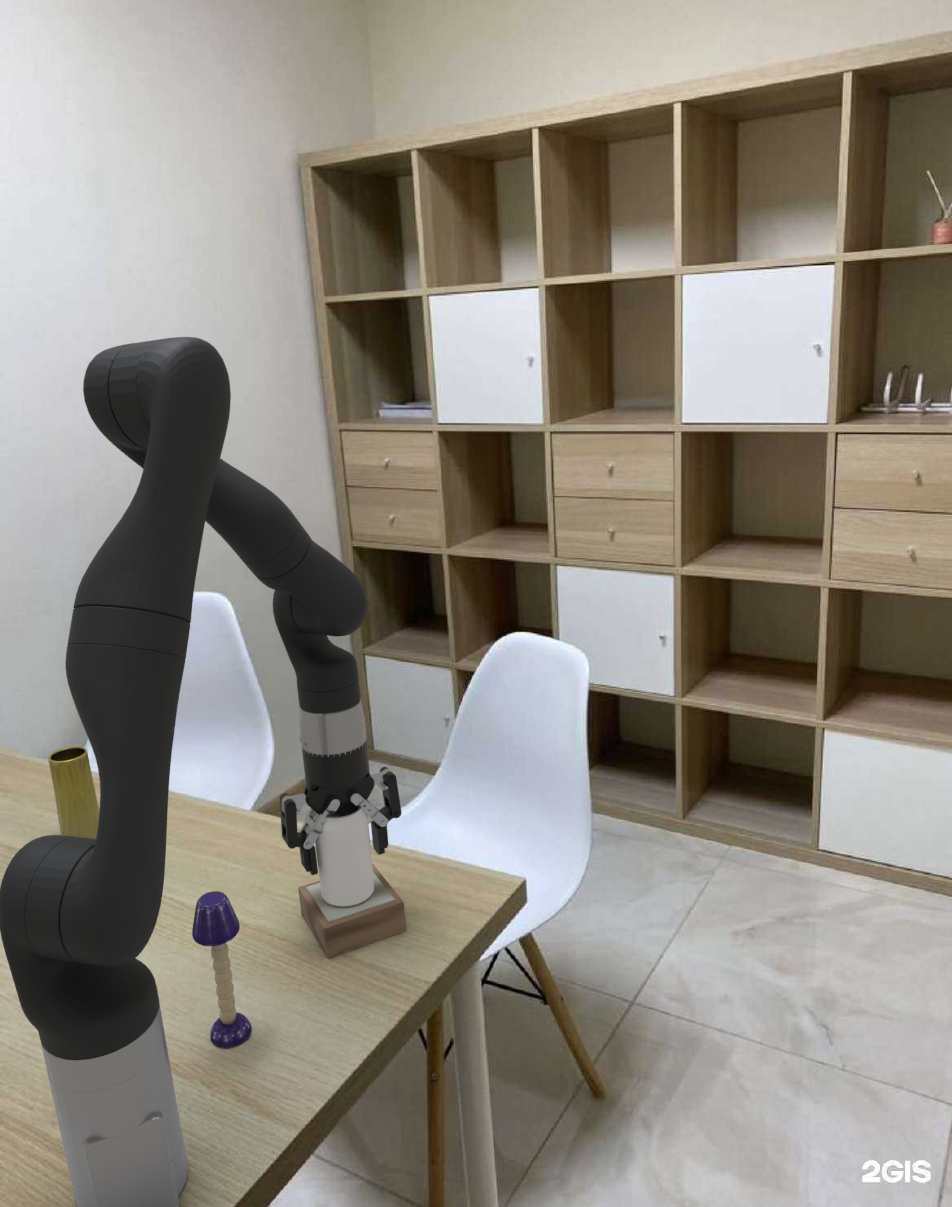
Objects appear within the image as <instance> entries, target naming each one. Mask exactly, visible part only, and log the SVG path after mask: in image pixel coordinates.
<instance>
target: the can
mask: <svg viewBox="0 0 952 1207" xmlns="http://www.w3.org/2000/svg"><path fill="white" fill-rule="evenodd" d="M361 808H362V806H361V807H360V808H358V807H357V808H353V809H350V810H346V811H343V812H340V813H336V814H333V816H332V817H327V816H326V817H325V818H326V823H325V825H324V827H323V833H320V834H319V836H318V838H317V839H316V841H315V843H314V845H315V850H316V859H317V868H318V876H319V877H318V878H319V879H318V880H319V881H320V887H321V894H322V898H323V899H324V900H325V901H326V902H327V903H328V904H330V905H332V906H335V907H352V906H356V905H359V904H361V903H363V902H365V901H366V900H367V899H368V898H369V897H370V896H371V895H372V893H373V891H374V877H373V866H372V864H373V858H372V848H371V847H372V845H371V837H370V835H371V834H370V827H369V816H368V815H366V814H365V813H364V812H363V811H362V809H361ZM319 816H320V815H318V814H317V813H315V816H314V819H315V821H317V819H318V818H319Z"/></svg>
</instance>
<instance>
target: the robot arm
mask: <svg viewBox="0 0 952 1207" xmlns="http://www.w3.org/2000/svg"><path fill="white" fill-rule="evenodd" d="M230 382H231V381H230V376H229V372H228V369H227V366H226V364H225V362H224V358H223V357H222V355H221V354H220V353H219V351H218V350H217V349H216V347H215V346H214V345H212V344H211V343H210V342H208V341H206V340H204V339H202V338H199V337H195V336H177V337H167V338H161V339H154V340H146V341H137V342H132V343H125V344H121V345H116V346H113V347H109V348H106V349H104V350H102V351H101V352H99V353H97V354H96V355H95V356H94V357H93V358H92V359H91V360H90V361H89V363H88V365H87V367H86V370H85V373H84V377H83V384H82V385H83V387H82V391H83V397H84V398H83V399H84V404H85V406H86V408H87V412H88V415H89V417H90V419H91V420H92V421H93V423H94V425H95V426H96V428H97V429H98V430H99V432H100V433H101V434H102V435H103V436H104V437H105V438H106V439H107V440H108V441H109V442H110V444H112V445H113V446H114V447H115V448H116V449H118V450H119V451H120V452H122V453H123V454H124V455H125V456H126V457H127V458H129V459H130V460H131V461H132V462H134V463H135V464H137V465H138V466H139V467H140V468H142V473H141V476H140V480H139V483H138V486H137V488H136V490H135V493H134V495H133V497H132V499H131V502H130V503H129V505H128V507H127V508H126V509H125V511H124V513H123V515H122V517H121V518H120V519H119V521H118V522H117V524H116V525H115V526H114V527H113V529H112V531H110V533H109V535H108V536H107V537H106V539H105V540H104V542H103V543H102V545H101V546H100V548H99V549H98V550H97V552H96V554H95V555H94V557H93V558H92V560H91V561H90V563H89V564H88V567H87V568H86V570H85V572H84V574H83V575H82V577H81V580H80V583H79V584H78V588H77V590H76V593H75V598H74V602H73V609H72V615H71V619H70V620H71V621H70V627H69V634H68V639H67V646H66V652H65V653H66V654H65V674H66V675H65V676H66V680H67V685H68V688H69V691H70V694H71V698H72V701H73V704H74V706H75V708H76V711H77V714H78V716H79V719H80V721H81V723H82V727H83V728H84V731H85V733H86V737H87V738H88V740H89V744H90V746H91V749H92V752H93V754H94V757H95V762H96V766H97V770H98V777H99V792H100V793H99V794H100V795H99V809H100V810H99V822H98V830H97V837H96V839H93V838H84V837H75V836H66V835H61V834H48V835H41V836H40V837H36V838H34V839H32V840H30V841H29V842H27V843H26V844H24V845H23V846H22V847H21V848H20V849H19V850H18V851H17V852H16V853H15V854H14V856H13V857H12V858H11V860H10V861H9V863H8V865H7V867H6V869H5V871H4V874H3V877H2V879H1V883H0V937H1V942H2V946H3V949H4V953H5V957H6V960H7V963H8V967H9V970H10V973H11V977H12V980H13V981H12V982H13V984H14V987H15V990H16V993H17V997H18V1001H19V1004H20V1007H21V1010H22V1013H23V1014H24V1017H25V1018H26V1020H27V1021H28V1022H29V1023H30V1024H31V1025H32V1026H33V1027H34V1028H35V1029H36V1030H37V1032H38V1035H39V1036H38V1037H39V1039H40V1041H39V1042H40V1045H41V1048H42V1049H41V1050H42V1052H43V1053H42V1054H43V1058H44V1064H45V1068H46V1074H47V1077H48V1082H49V1086H50V1091H51V1097H52V1100H53V1101H52V1102H53V1105H54V1108H55V1109H54V1110H55V1114H56V1115H55V1116H56V1119H57V1125H58V1128H59V1133H60V1136H61V1142H62V1143H61V1144H62V1147H63V1152H64V1156H65V1159H66V1160H65V1161H66V1164H67V1168H68V1173H69V1179H70V1182H71V1186H72V1191H73V1196H74V1201H75V1205H76V1207H180V1203H179V1197H180V1194H181V1193H182V1191H183V1189H184V1187H185V1185H186V1182H187V1179H188V1174H189V1173H188V1172H189V1171H188V1170H189V1165H188V1160H187V1154H186V1147H185V1140H184V1137H183V1130H182V1125H181V1121H180V1115H179V1108H178V1102H177V1096H176V1092H175V1085H174V1080H173V1075H172V1069H171V1063H170V1057H169V1056H170V1055H169V1051H168V1044H167V1040H166V1034H165V1026H164V1021H163V1017H162V1016H163V1015H162V1010H161V1004H160V998H159V991H158V986H157V983H156V979H155V977H154V975H153V972H152V971H151V969H150V968H149V967H148V966H147V965H146V964H145V963H144V962H142V961H141V960H139V959H138V958H137V957H138V956H140V954H142V952H143V950H144V949H145V947H146V946H147V944H148V943H149V941H150V939H151V937H152V935H153V933H154V930H155V928H156V925H157V921H158V917H159V914H160V910H161V906H162V898H163V891H164V884H165V883H164V882H165V876H166V875H165V874H166V872H165V871H166V870H165V869H166V854H167V832H168V812H169V810H168V809H169V808H168V807H169V790H170V789H169V788H170V776H171V775H170V774H171V773H170V772H171V765H172V763H171V762H172V754H173V753H172V752H173V744H174V737H175V729H176V721H177V714H178V713H177V712H178V706H179V699H180V694H181V693H180V692H181V687H182V680H183V676H184V670H185V665H186V658H187V652H188V645H189V638H190V630H191V623H192V612H193V611H192V610H193V601H194V592H195V585H196V579H197V578H196V577H197V573H198V572H197V571H198V566H199V560H200V554H201V549H202V548H201V547H202V544H203V542H202V541H203V535H204V529H205V524H206V523H207V524H208V525H209V526H210V527H211V528H212V529H213V530H214V531H215V532H216V533H217V534H218V535H219V536H220V537H221V538H222V539H223V540H224V541H225V543H226V544H227V545H228V546H229V547H230V548H231V549H232V551H234V553H235V554H236V555H237V556H238V557H239V559H240V560H241V561H242V562H243V563H244V565H245V566H246V567H247V569H249V570H250V572H251V573H252V574H253V575H254V577H256V579H257V580H258V581H260V582H261V584H263V585H264V586H266V587H267V588H269V589H272V590H273V596H272V597H273V598H272V613H273V614H272V615H273V618H274V622H275V625H276V628H277V631H278V634H279V636H280V638H281V641H282V643H283V646H284V649H285V651H286V654H287V656H288V659H289V660H290V663H291V665H292V667H293V670H294V673H295V677H296V686H297V687H296V688H297V690H296V691H297V695H298V696H297V697H298V705H299V707H298V708H299V717H298V719H299V741H300V743H301V753H302V760H303V767H304V768H303V770H304V777H305V778H304V779H305V789H304V791H303V793H299V794H294V795H290V794H289V793H288V792H285V793H282V794H281V795H280V797H279V808H280V825H281V826H280V827H281V838H282V840H283V841H284V842H285V844H286V845H287V847H288V848H289V849H292V850H293V849H296V848H299V853H300V854H299V855H300V862H301V865H302V867H303V869H305V871H306V872H307V873H309V874H310V875H311V876H314V875H315V876H316V875H317V874H318V875H319V870H318V862H317V853H316V846H315V841H316V839H317V838H318V836H319V834H320V833H323V827H324V825H325V823H326V818H325V817H326V816H327V817H332V816H333V814H336V813H340V812H343V811H346V810H350V809H353V808H357V807H358V808H360V807H361V806H362V808H361V809H362V811H363V812H364V813H365V814H366V815H367V816H368V818H370V819H371V821H370V827H371V838H372V839H371V840H372V847H373V850H374V851H375V853H377V855H379V856H381V855H384V854H385V853H386V851H385V849H388V846H389V836H388V824H389V822H390V821H391V820H393V819H399V818H400V817H401V816H402V808H401V801H400V793H399V787H398V786H399V785H398V780H397V776H396V774H394V771H392V770H391V769H390V768H389V767H387V766H382V767H381V768H380V769H379V771H378V772H376V773H373V774H371V773H370V762H369V751H368V741H367V740H368V739H367V738H368V737H367V729H366V718H365V712H364V708H363V705H362V700H361V689H360V678H359V669H358V663H357V659H356V658H355V656H354V655H353V653H351V652H350V651H349V650H346V649H344V648H341V647H339V646H338V645H335V644H334V643H333V642H332V641H331V640H330V639H329V637H345V636H350V635H351V634H353V633H355V632H356V631H357V630H359V628H361V626H363V624H364V622H365V621H366V620H365V619H366V618H367V613H368V598H367V593H366V590H365V588H364V585H363V584H362V582H361V581H360V579H359V578H358V577H357V575H356V574H355V573H354V572H353V571H352V570H351V569H350V568H349V566H347V565H346V564H344V563H343V562H341V561H340V560H339V559H338V558H337V557H335V556H334V555H333V554H331V553H330V552H329V551H328V550H327V549H325V548H323V547H322V546H320V545H319V544H318V543H316V542H315V541H314V540H313V539H312V537H311V536H310V535H309V533H308V532H307V530H306V528H304V526H303V525H302V524H301V522H300V521H299V519H298V518H297V517H296V516H295V515H294V513H293V511H292V510H291V509H290V508H289V507H288V505H286V504H285V502H284V501H283V500H282V499H281V498H280V497H278V495H276V494H275V493H274V492H272V490H270V489H269V488H267V487H266V486H265V485H263V484H262V483H260V482H258V481H257V480H256V479H254V478H252V477H250V476H249V475H248V474H246V473H244V472H242V471H240V470H239V469H238V468H236V467H234V466H233V465H231V464H230V463H228V462H227V461H225V460H223V459H222V458H221V455H222V453H223V449H224V445H225V444H224V443H225V440H226V436H227V435H226V434H227V431H228V427H229V422H230V421H229V420H230V415H231V414H230V413H231V400H232V398H231V397H232V393H231V383H230ZM328 636H329V637H328ZM376 785H377V787H378V788H379V789H380V790H381V791H382V797H383V804H384V806H383V807H381V808H380V809H379V808H377V806H376V805H374V804H373V803H372V802H371V801H370V800H369V797H370V795H371V793H372V792H373V790H374V787H375V786H376ZM304 805H307V806H308V807H309V810H308V811H307V813H306V814H305V817H304V823H303V824H302V826H301V828H300V829H299V830H298V815H300V814H301V812H302V807H303V806H304ZM315 813H317V814H318V815H320V816H319V818H318V819H317V821H315V819H314V816H315Z"/></svg>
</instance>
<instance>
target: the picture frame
mask: <svg viewBox="0 0 952 1207" xmlns="http://www.w3.org/2000/svg"><path fill="white" fill-rule="evenodd" d="M372 866H373V877H374V891H373V893H372V895H371V896H370V897H369V898H368V899H367V900H366V901H365V902H363V903H361V904H359V905H356V906H352V907H335V906H332V905H330V904H328V903H327V902H326V901H325V900H324V899H323V898H322V894H321V887H320V880H317V881H313V882H311V883H307V884H305V885H301V886H299V887H297V888H298V889H297V890H298V897H299V904H300V905H299V906H300V913H301V917H302V919H303V920H304V922H305V924H306V925H307V926H308V928H309V930H310V932H311V933H312V935H313V937H314V938H315V939H316V942H317V943H318V945H319V947H320V948H321V950H322V952H323V953H324V955H325V956H326V958H327V959H330V958H333V957H336V956H338V955H342V954H345V953H347V952H350V951H352V950H356V949H359V948H362V947H364V946H367V945H370V944H373V943H376V942H378V941H381V940H383V939H387V938H390V937H393V936H396V935H399V934H401V933H404V932H407V926H406V925H407V924H406V916H405V915H406V913H405V911H406V910H405V902H404V900H403V899H402V898H401V897H400V895H399V894H398V893H397V892H396V891H395V890H394V888H393V886H391V884H390V883H389V882H388V881H387V879H386V878H385V877H384V875H382V873H381V872H380V870H379V869H378V868H377V867H376V866H375V864H373V863H372Z"/></svg>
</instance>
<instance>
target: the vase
mask: <svg viewBox="0 0 952 1207" xmlns="http://www.w3.org/2000/svg"><path fill="white" fill-rule="evenodd" d="M88 753H89V752H88V749H87V748H86V747H83V746H77V745H76V746H68V747H67V746H66V747H64V748H60V749H57V750H55V751H53V752H51V753H50V754H49V755H48V765H49V771H50V775H51V780H52V786H53V787H52V788H53V792H54V797H55V798H54V800H55V805H56V810H57V811H56V813H57V819H58V825H59V831H60V832H59V833H60V835H66V836H75V837H84V838H93V839H96V837H97V830H98V822H99V810H100V805H99V802H98V797H97V794H96V788H95V784H94V779H93V778H94V777H93V774H92V768H91V764H90V759H89V758H90V757H89V754H88Z"/></svg>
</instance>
